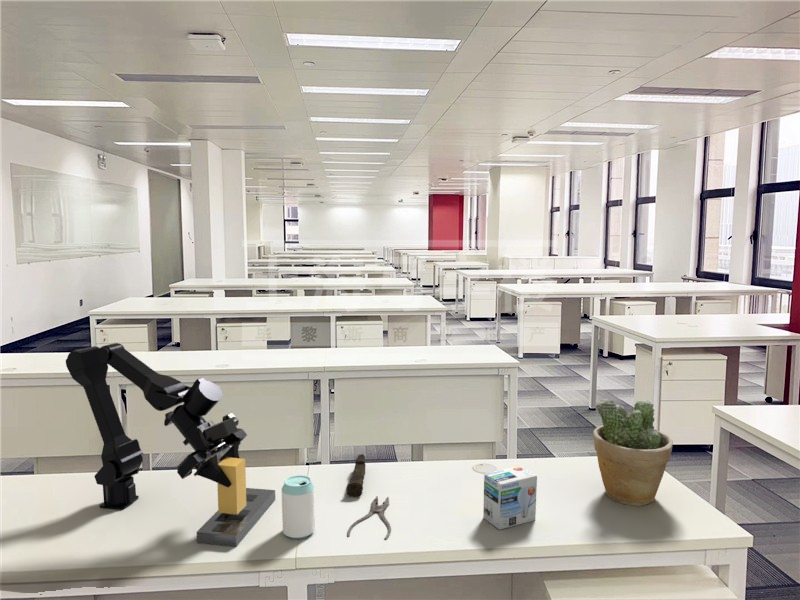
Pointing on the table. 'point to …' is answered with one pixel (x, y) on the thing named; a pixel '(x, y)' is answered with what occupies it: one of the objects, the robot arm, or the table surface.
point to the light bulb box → (509, 497)
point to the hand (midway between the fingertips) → (237, 481)
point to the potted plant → (630, 452)
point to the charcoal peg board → (234, 533)
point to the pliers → (373, 510)
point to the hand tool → (357, 478)
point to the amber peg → (232, 486)
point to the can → (298, 507)
